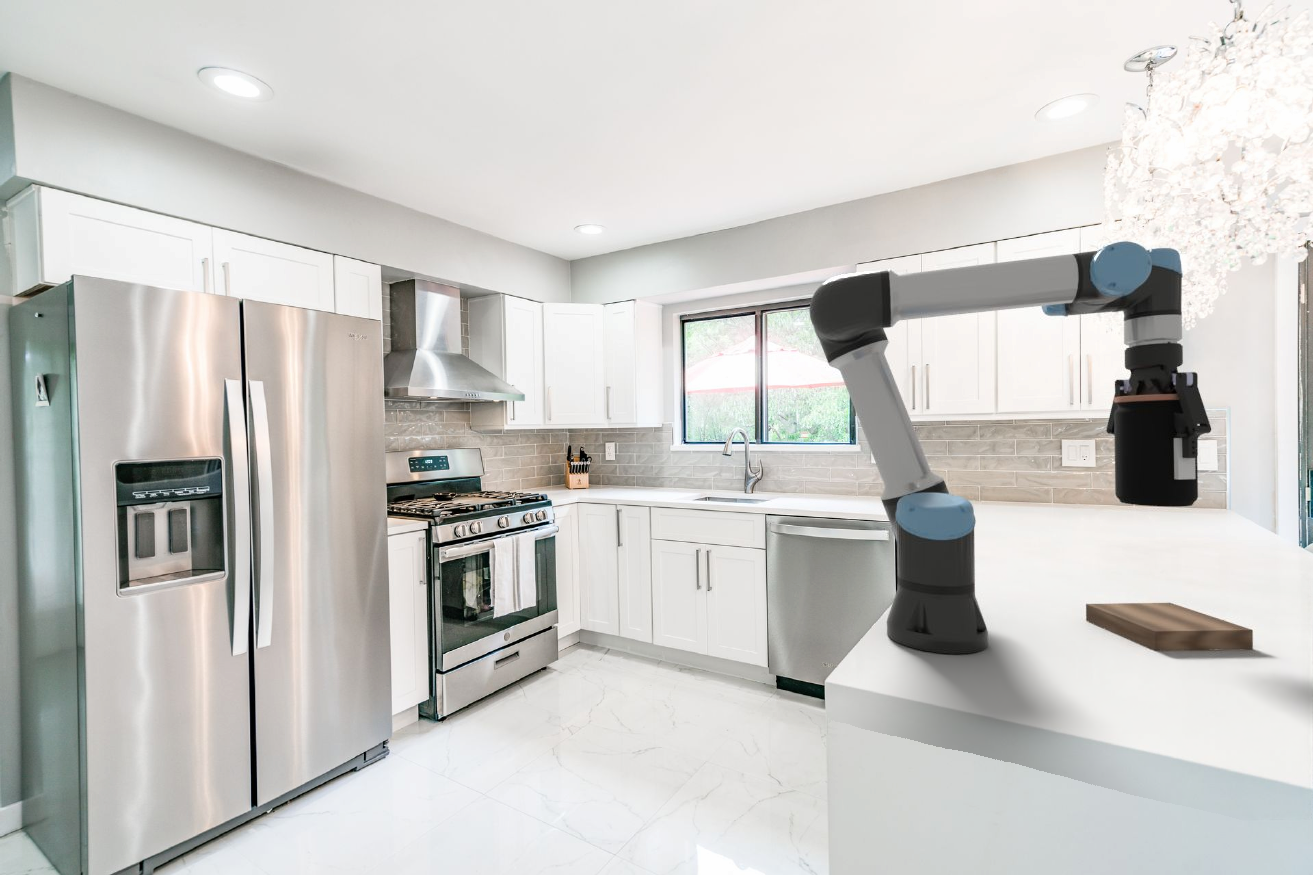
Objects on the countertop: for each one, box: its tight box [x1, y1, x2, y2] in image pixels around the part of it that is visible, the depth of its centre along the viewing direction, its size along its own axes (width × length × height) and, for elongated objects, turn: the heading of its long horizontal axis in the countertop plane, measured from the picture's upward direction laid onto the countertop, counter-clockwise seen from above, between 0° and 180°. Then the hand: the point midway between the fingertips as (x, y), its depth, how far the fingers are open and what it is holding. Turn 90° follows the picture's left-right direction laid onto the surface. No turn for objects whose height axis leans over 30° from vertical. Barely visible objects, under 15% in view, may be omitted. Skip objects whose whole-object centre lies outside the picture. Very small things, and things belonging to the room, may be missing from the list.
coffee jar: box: [1113, 394, 1199, 508], centre depth 101 cm, size 11×11×18 cm
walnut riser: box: [1085, 602, 1254, 652], centre depth 101 cm, size 15×15×3 cm
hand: (1154, 476), depth 101 cm, fingers closed on coffee jar, 11 cm apart
